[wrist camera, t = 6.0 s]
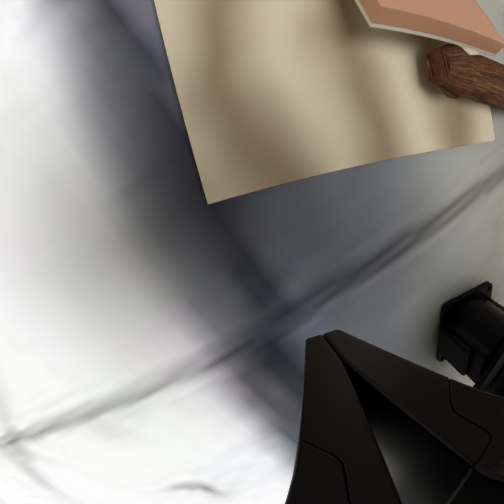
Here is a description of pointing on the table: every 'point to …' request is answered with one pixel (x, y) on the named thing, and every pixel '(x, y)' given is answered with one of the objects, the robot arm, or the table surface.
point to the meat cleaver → (466, 75)
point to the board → (303, 91)
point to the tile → (436, 21)
